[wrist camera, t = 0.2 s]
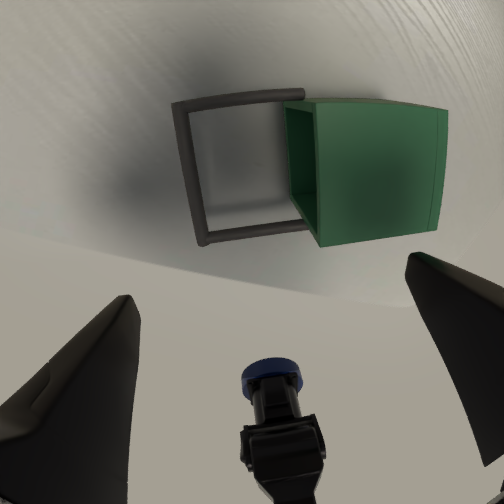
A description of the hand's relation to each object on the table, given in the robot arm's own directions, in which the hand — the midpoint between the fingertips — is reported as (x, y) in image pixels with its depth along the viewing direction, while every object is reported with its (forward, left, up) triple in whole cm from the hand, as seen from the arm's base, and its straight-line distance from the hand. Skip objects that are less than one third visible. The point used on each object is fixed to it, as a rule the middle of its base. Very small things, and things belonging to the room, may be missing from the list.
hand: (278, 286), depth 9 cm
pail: (+1, -3, -12) cm, 13 cm away
